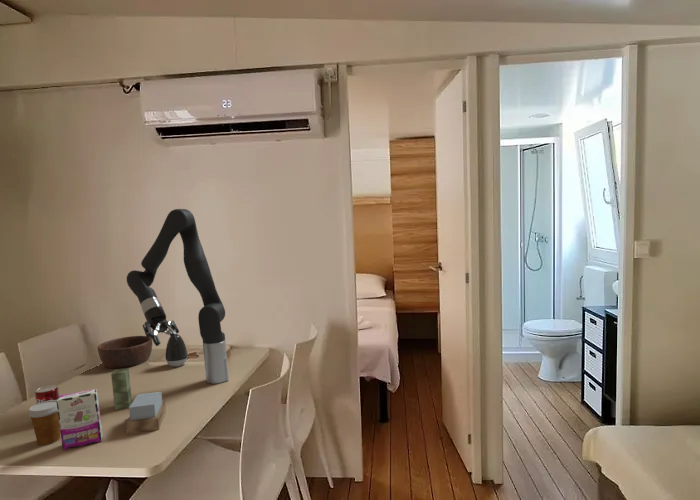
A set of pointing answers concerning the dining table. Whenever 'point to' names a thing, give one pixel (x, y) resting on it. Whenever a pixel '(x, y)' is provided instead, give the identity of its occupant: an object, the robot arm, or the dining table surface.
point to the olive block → (121, 388)
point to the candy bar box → (79, 419)
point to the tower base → (147, 422)
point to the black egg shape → (176, 352)
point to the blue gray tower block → (145, 406)
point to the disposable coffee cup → (45, 422)
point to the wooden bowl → (125, 351)
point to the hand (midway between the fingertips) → (167, 344)
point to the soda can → (46, 394)
